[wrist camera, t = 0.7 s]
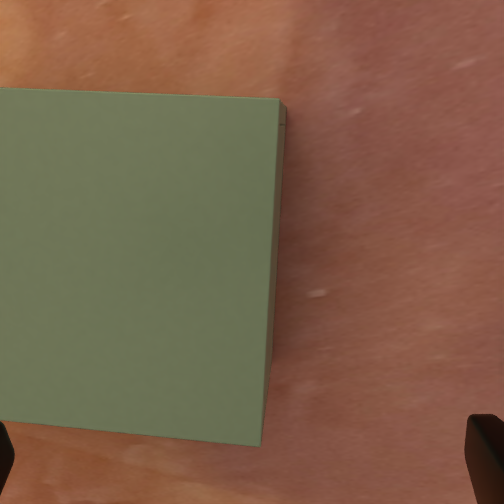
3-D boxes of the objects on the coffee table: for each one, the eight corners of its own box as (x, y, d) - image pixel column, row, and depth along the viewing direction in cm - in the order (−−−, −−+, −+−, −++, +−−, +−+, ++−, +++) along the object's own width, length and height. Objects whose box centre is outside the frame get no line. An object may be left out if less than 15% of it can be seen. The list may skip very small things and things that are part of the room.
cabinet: (19, 341, 25) (-76, 413, 19) (-5, 94, 22) (-127, 82, 16) (271, 363, 24) (260, 447, 18) (286, 106, 21) (280, 98, 15)
